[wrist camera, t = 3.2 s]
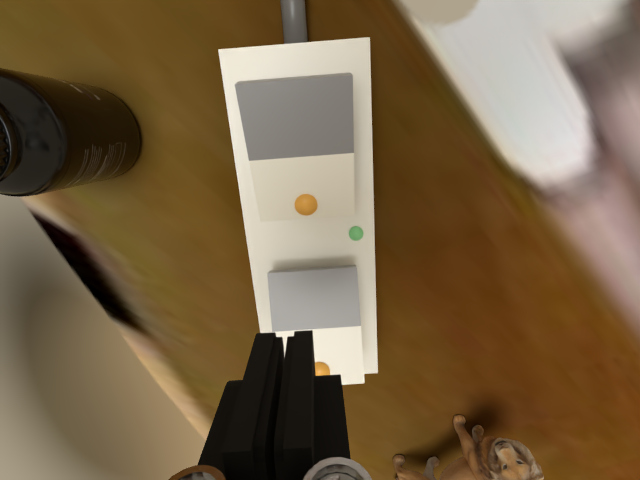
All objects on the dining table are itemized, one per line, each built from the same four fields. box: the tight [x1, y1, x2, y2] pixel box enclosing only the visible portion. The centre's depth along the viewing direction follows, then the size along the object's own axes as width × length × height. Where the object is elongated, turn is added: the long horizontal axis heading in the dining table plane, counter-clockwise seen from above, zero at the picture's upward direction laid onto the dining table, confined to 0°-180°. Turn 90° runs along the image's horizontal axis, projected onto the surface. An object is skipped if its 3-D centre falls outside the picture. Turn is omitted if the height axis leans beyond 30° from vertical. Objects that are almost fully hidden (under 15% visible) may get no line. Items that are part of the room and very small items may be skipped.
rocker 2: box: [267, 265, 365, 385], centre depth 23 cm, size 6×8×2 cm
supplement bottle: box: [0, 68, 140, 197], centre depth 20 cm, size 7×7×12 cm
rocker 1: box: [235, 72, 355, 222], centre depth 20 cm, size 6×8×2 cm
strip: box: [218, 0, 378, 374], centre depth 25 cm, size 9×30×6 cm, turn 4°
